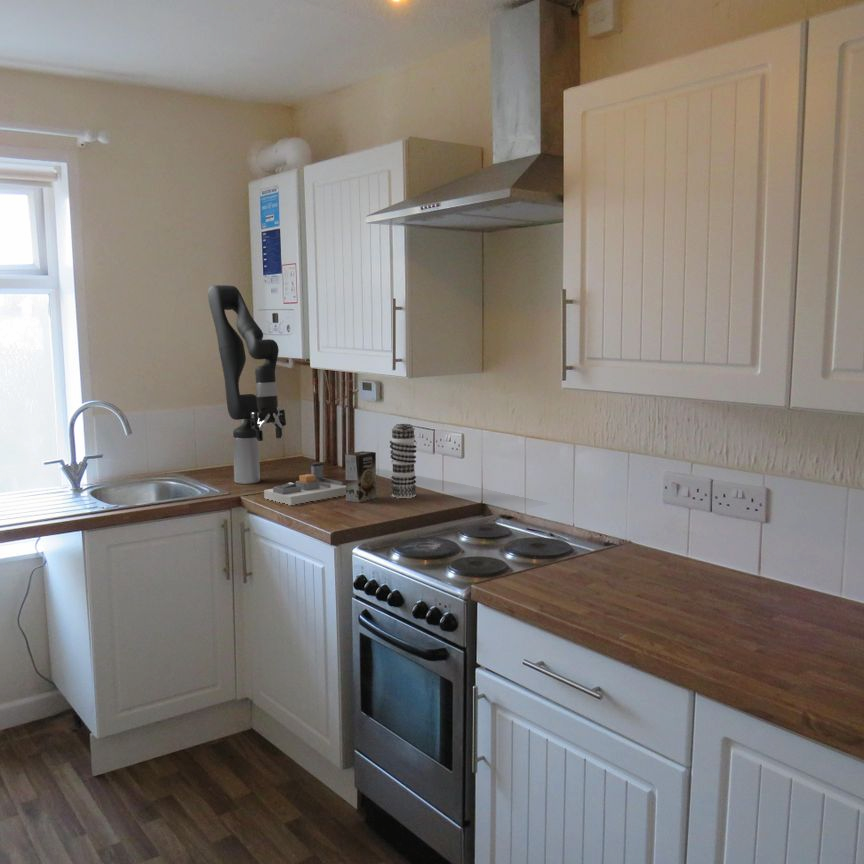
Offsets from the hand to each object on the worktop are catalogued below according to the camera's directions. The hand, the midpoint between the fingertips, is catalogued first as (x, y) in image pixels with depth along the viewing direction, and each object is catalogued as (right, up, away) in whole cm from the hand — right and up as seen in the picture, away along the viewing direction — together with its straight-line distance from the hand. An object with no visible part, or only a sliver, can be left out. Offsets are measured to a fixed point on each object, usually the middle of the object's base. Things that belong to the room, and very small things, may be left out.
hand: (269, 439), depth 310 cm
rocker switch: (+10, -16, -20) cm, 28 cm away
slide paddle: (+18, -15, -4) cm, 24 cm away
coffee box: (+35, -21, -19) cm, 45 cm away
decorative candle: (+49, -20, -14) cm, 55 cm away
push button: (+16, -15, -15) cm, 26 cm away
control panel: (+16, -20, -14) cm, 29 cm away
